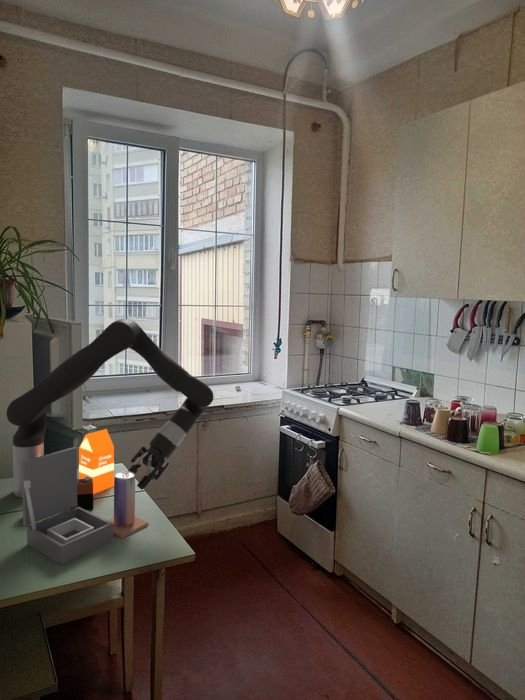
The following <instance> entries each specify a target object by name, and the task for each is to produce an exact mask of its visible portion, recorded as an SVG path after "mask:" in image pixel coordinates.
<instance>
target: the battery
mask: <svg viewBox="0 0 525 700" xmlns="http://www.w3.org/2000/svg"><path fill="white" fill-rule="evenodd" d="M76 507H81V508H83V509H85V510H87V511H92V510H93V509H94V494H93V479H92V478H90V477H84V479H79V478H77V506H76ZM76 507H73V508H76ZM73 508H71V509H73ZM71 509H69V510H71Z"/></svg>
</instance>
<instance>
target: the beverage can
mask: <svg viewBox="0 0 525 700" xmlns="http://www.w3.org/2000/svg"><path fill="white" fill-rule="evenodd" d="M135 475H136V473H135V474H134V473H133V472H129V471H128V470H125V471H119V472H116V473H115V474H114V486H113V518H114V524H115V525H116V526H118V527H128V526H131V525H132V524H133V523H134V521H135V517H136V516H135V513H136V477H135Z"/></svg>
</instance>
